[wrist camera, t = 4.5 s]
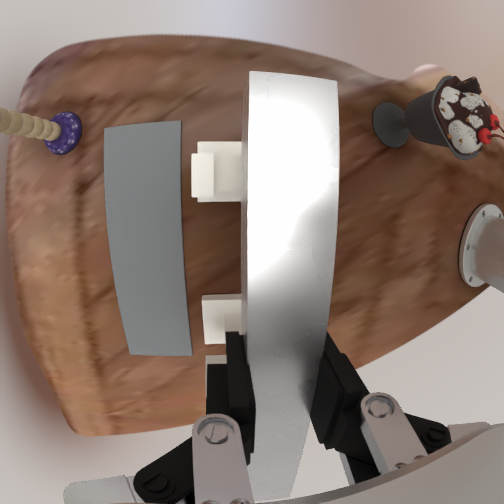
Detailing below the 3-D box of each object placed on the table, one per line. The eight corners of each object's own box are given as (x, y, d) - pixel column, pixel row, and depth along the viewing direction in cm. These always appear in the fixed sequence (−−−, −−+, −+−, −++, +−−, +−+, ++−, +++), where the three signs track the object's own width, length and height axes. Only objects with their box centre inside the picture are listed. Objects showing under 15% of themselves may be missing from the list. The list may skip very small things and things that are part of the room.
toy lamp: (61, 102, 19) (-64, 68, 3) (95, 114, 20) (-36, 73, 4) (42, 147, 20) (-90, 154, 4) (74, 162, 21) (-66, 177, 5)
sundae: (392, 168, 25) (513, 187, 11) (353, 117, 23) (474, 92, 9) (423, 132, 24) (534, 134, 10) (388, 83, 22) (499, 53, 8)
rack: (268, 143, 23) (313, 126, 12) (262, 334, 29) (287, 417, 18) (198, 143, 22) (184, 122, 11) (205, 337, 28) (205, 423, 17)
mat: (181, 121, 21) (181, 120, 21) (192, 352, 28) (192, 355, 28) (106, 128, 20) (104, 128, 20) (131, 351, 27) (130, 354, 27)
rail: (310, 103, 9) (336, 81, 6) (282, 468, 14) (289, 497, 11) (242, 97, 9) (249, 71, 6) (243, 471, 13) (247, 501, 11)
